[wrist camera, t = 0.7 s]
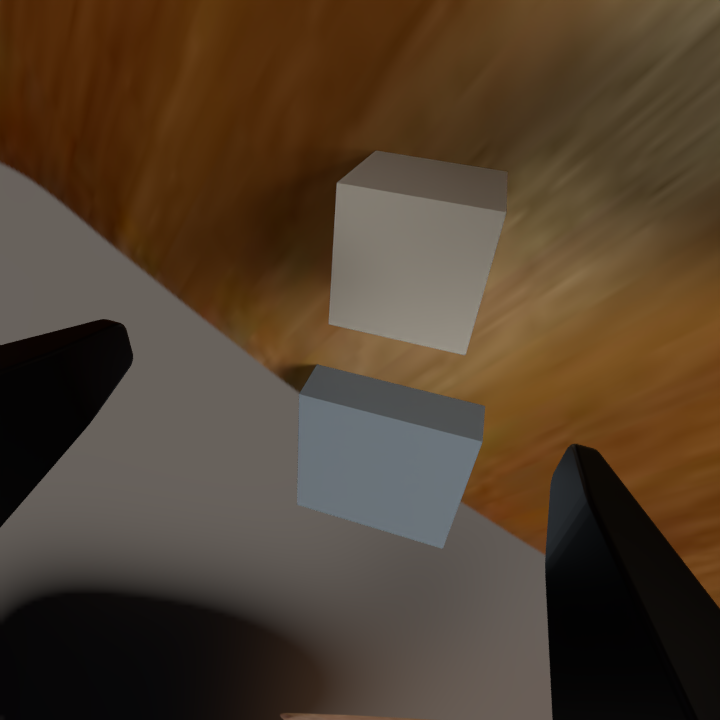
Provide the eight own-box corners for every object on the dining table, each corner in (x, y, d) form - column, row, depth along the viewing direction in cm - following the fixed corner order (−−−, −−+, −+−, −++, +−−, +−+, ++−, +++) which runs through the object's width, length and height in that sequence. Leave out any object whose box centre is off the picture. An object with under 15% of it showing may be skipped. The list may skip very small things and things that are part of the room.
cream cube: (507, 171, 17) (506, 212, 13) (474, 291, 20) (465, 355, 16) (376, 150, 17) (336, 182, 13) (363, 269, 20) (328, 324, 16)
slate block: (485, 400, 23) (482, 441, 21) (448, 506, 28) (442, 548, 26) (319, 360, 24) (299, 394, 22) (314, 468, 30) (297, 504, 27)
